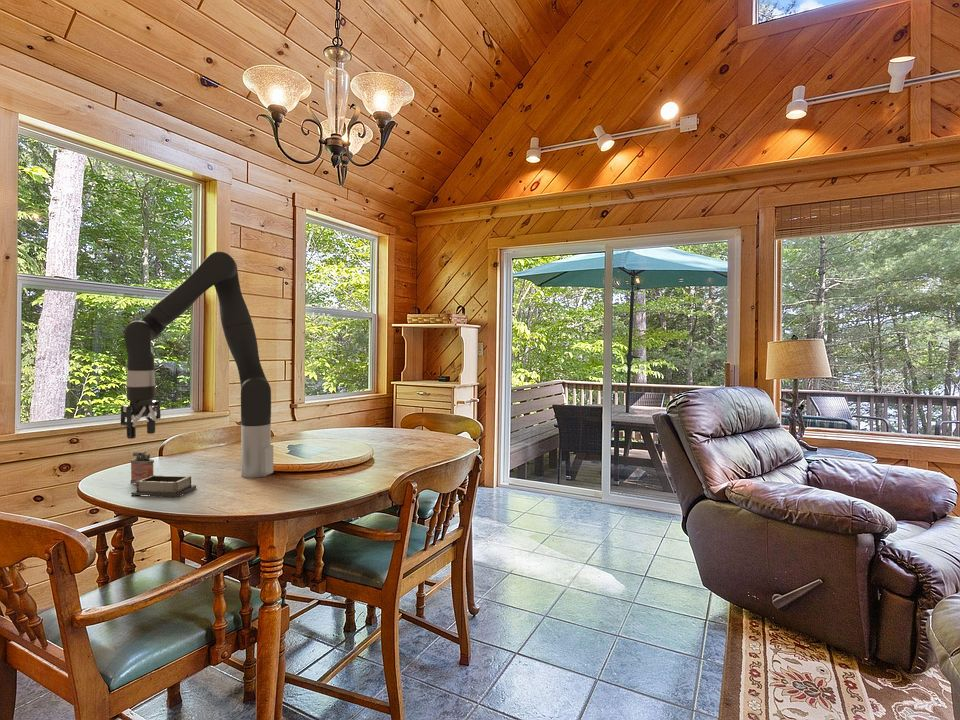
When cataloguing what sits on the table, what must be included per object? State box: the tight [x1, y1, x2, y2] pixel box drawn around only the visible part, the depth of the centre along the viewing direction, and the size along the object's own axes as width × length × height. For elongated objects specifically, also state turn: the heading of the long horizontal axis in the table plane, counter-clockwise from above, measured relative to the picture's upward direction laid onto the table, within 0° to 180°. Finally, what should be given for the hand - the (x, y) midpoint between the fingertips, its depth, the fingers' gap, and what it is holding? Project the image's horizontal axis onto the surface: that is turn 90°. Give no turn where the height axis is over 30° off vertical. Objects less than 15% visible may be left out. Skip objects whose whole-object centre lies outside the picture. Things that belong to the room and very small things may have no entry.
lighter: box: [129, 451, 155, 484], centre depth 163 cm, size 8×3×10 cm, turn 74°
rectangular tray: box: [130, 474, 197, 498], centre depth 154 cm, size 9×14×4 cm, turn 86°
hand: (141, 435), depth 162 cm, fingers open, 8 cm apart
